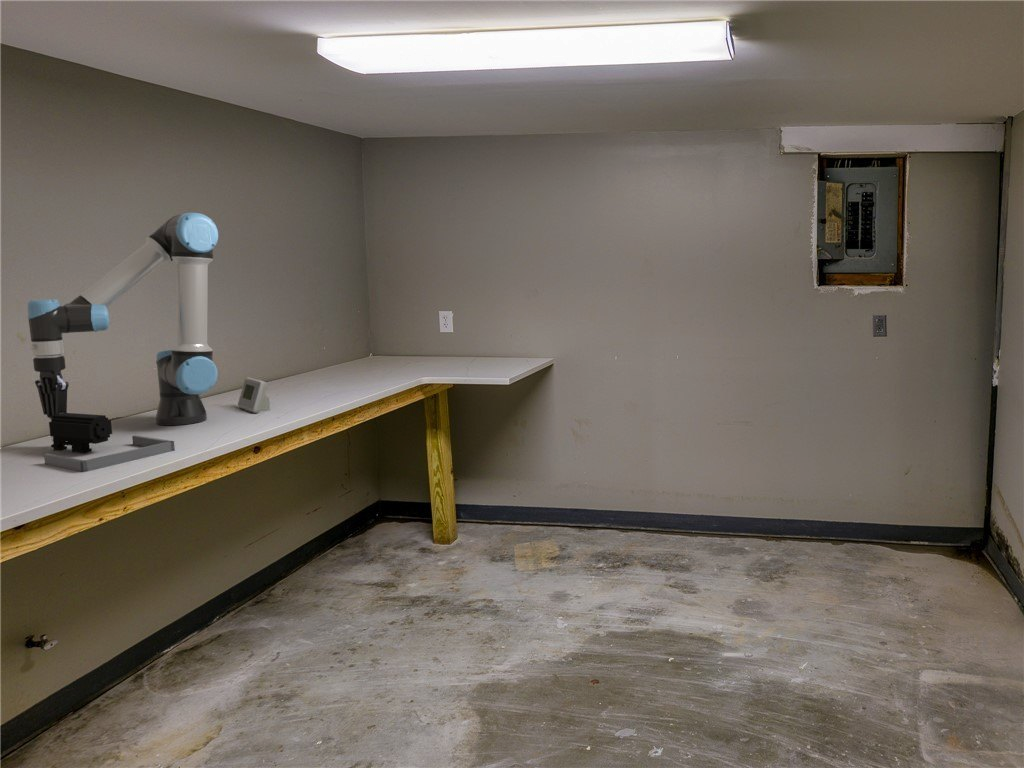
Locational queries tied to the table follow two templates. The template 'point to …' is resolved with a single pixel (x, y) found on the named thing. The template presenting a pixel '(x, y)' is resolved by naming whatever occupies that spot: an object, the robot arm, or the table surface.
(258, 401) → the digital clock
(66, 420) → the security camera
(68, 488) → the table surface
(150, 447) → the grey u-shaped frame
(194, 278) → the robot arm
